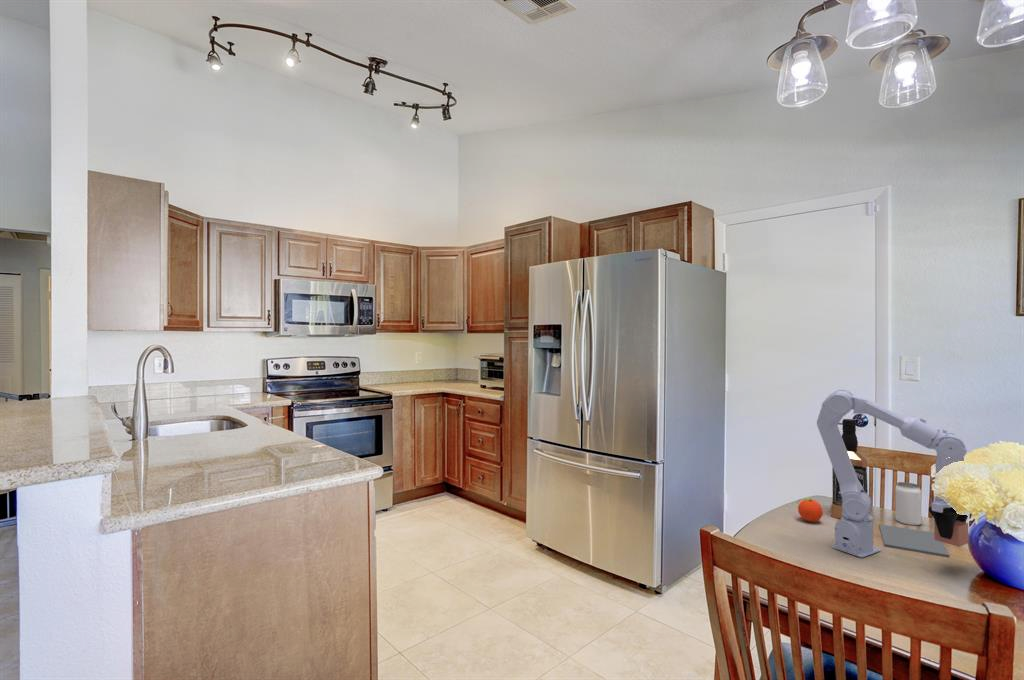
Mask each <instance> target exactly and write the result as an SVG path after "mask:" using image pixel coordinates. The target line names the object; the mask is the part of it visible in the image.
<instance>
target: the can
mask: <svg viewBox="0 0 1024 680" xmlns="http://www.w3.org/2000/svg"><path fill="white" fill-rule="evenodd" d="M922 513H923V511H922V490H921V488H920V485H918V484H915V483H911V482H904V481H902V482H901V481H900V482H897V483H896V486H895V520H896V521H897V522H898V523H901V524H903V525H907V526H915V527H916V526H917V527H918V526H920V525H922V522H923V521H922V515H923V514H922Z"/></svg>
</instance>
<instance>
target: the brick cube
mask: <svg viewBox="0 0 1024 680" xmlns="http://www.w3.org/2000/svg"><path fill="white" fill-rule="evenodd" d="M933 525H934V526H933V527H934V529H933V530H934V531H933V532H934V540H936V541H940V542H943V544H948V545H949V546H950V545H951V546H954V547H958V548H961V547H962V546H965V545H967V544H969V522H966V523H965V522H961V521H957V520H956V521H955V523H954V528H953V535H952V538H951V539H947V538H943V537H940V535H939V532H938V528H937V525H936V522H935V520H934V519H933Z"/></svg>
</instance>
